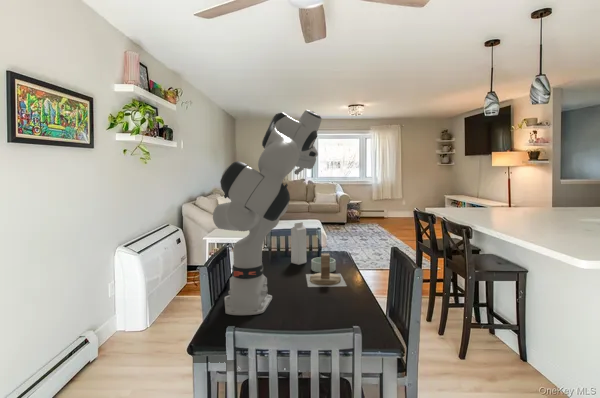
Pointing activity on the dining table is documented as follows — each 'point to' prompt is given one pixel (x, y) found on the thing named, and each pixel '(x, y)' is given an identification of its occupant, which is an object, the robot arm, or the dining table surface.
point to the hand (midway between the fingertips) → (286, 171)
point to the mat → (310, 284)
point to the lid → (325, 273)
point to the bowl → (317, 264)
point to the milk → (298, 244)
